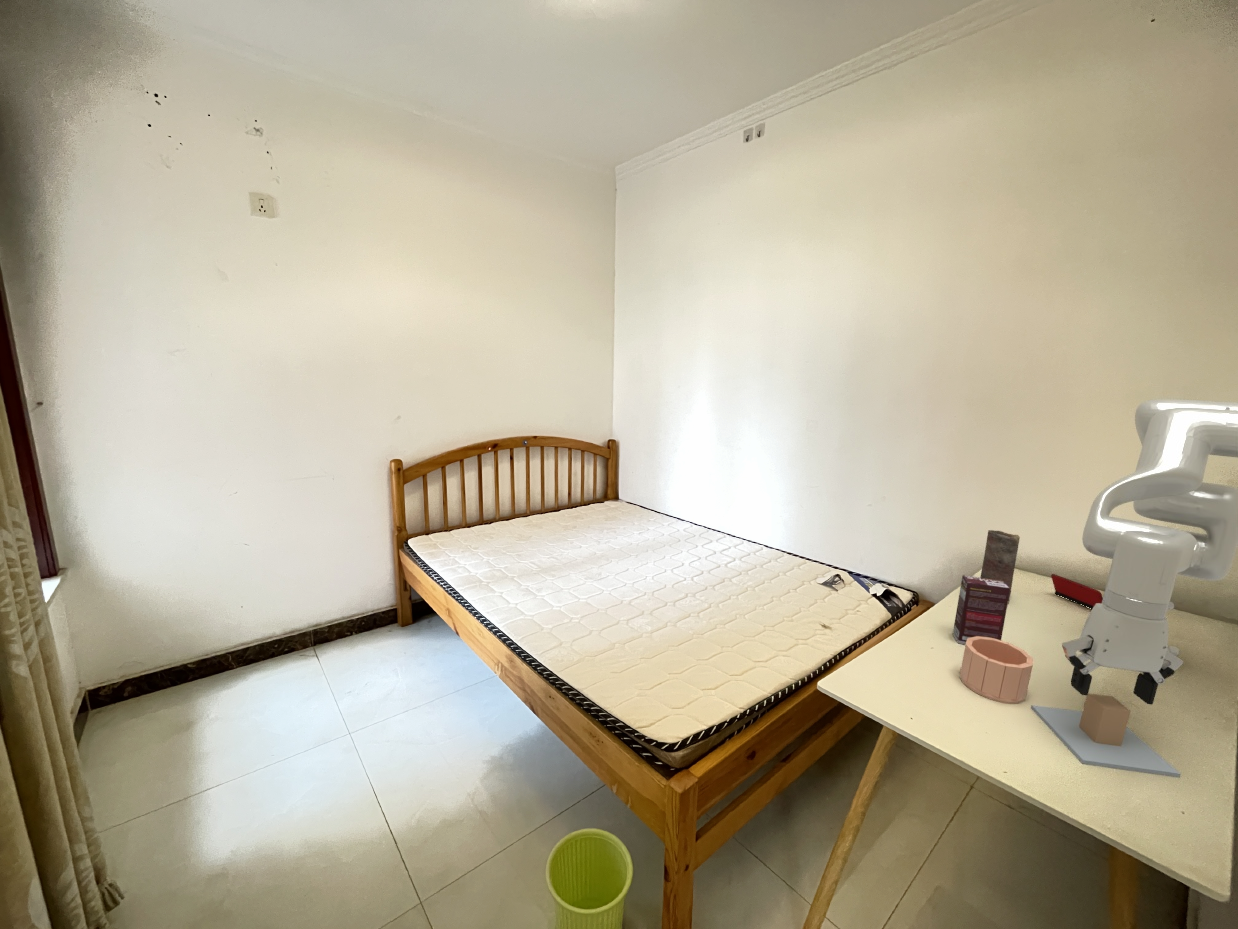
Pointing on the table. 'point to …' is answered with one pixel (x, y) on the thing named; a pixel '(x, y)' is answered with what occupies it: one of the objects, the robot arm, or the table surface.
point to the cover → (1103, 736)
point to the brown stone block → (1000, 557)
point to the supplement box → (980, 608)
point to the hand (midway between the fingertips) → (1110, 695)
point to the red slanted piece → (1076, 591)
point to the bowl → (996, 669)
